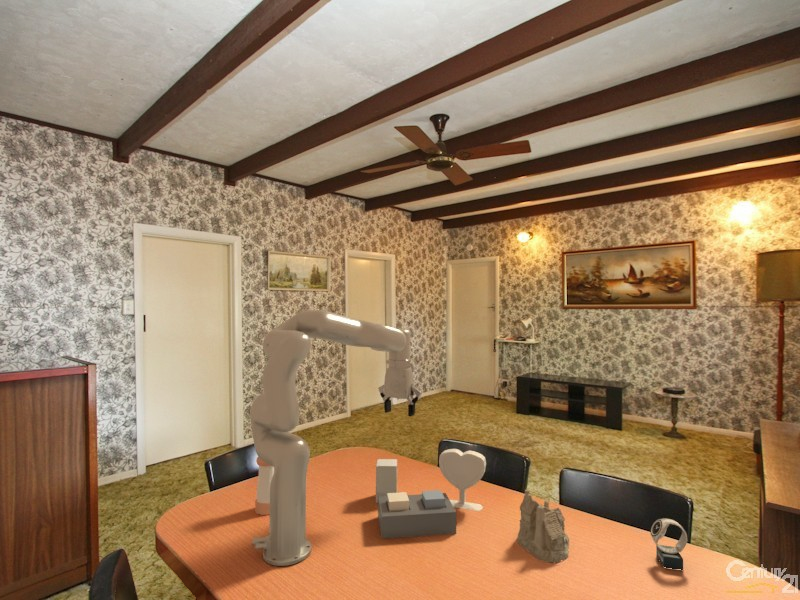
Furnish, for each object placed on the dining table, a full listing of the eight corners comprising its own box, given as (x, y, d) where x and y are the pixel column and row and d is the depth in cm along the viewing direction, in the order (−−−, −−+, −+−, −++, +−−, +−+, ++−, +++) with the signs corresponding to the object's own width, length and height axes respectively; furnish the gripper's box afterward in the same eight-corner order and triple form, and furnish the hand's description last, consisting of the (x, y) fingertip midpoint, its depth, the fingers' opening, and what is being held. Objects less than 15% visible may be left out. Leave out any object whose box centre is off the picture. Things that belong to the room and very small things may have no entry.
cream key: (389, 518, 123) (389, 501, 123) (387, 509, 129) (387, 493, 129) (409, 517, 124) (409, 500, 124) (406, 508, 130) (406, 492, 130)
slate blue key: (425, 516, 125) (425, 499, 125) (421, 507, 131) (421, 491, 131) (445, 515, 125) (445, 498, 126) (440, 506, 131) (440, 490, 132)
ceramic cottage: (540, 565, 107) (542, 504, 108) (507, 534, 123) (509, 482, 124) (591, 559, 111) (592, 501, 112) (553, 531, 127) (554, 480, 128)
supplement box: (396, 503, 141) (397, 466, 142) (375, 503, 141) (375, 466, 142) (397, 494, 149) (397, 458, 149) (376, 494, 149) (377, 458, 149)
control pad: (381, 538, 119) (381, 516, 119) (378, 516, 132) (378, 496, 132) (456, 533, 122) (456, 511, 122) (445, 512, 135) (445, 492, 135)
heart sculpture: (438, 504, 141) (438, 451, 141) (441, 498, 145) (441, 446, 146) (484, 512, 135) (484, 456, 136) (486, 505, 140) (486, 451, 141)
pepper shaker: (281, 505, 140) (282, 447, 140) (273, 515, 133) (273, 455, 133) (261, 504, 141) (261, 447, 141) (251, 514, 133) (252, 454, 134)
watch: (648, 555, 111) (647, 513, 112) (682, 559, 109) (681, 517, 110) (655, 567, 106) (654, 523, 106) (691, 572, 104) (690, 528, 104)
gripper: (373, 363, 146) (372, 412, 146) (415, 367, 137) (415, 419, 136) (385, 361, 153) (385, 408, 152) (426, 365, 143) (426, 414, 143)
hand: (399, 413), depth 144 cm, fingers open, 9 cm apart
